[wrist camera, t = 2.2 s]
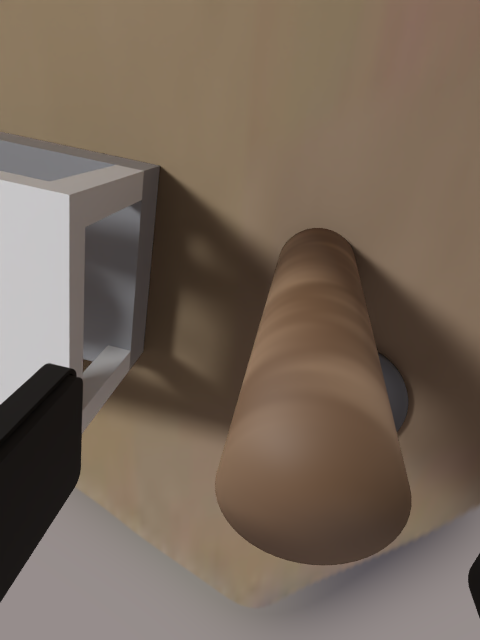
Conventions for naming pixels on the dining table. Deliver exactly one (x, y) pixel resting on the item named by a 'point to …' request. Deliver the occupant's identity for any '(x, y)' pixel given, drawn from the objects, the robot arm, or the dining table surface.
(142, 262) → the white hollow box
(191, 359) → the dining table surface
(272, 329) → the brown wooden rod
